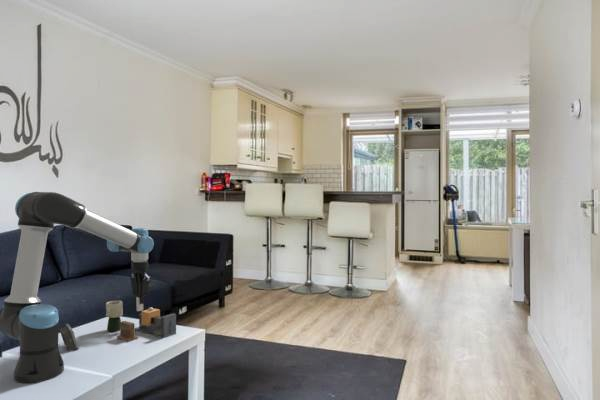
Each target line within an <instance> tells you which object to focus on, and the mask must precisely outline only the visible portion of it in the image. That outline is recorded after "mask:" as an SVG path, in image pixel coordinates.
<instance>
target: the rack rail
mask: <svg viewBox="0 0 600 400" xmlns="http://www.w3.org/2000/svg"><path fill="white" fill-rule="evenodd" d="M135 331H137V332H139V333H143V334H146V335H150V336H155V337H158V338H162V339H166V338H168V337H171V336H173V335H176V334H177V314H176V313H169V314H166V315H164V316H160V317H158V316H155V317H152V318H151V325H150V326H146V325H142V324H141V313H139V314H138V327H137V326H136V327H134V332H135Z"/></svg>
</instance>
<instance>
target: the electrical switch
mask: <svg viewBox="0 0 600 400" xmlns="http://www.w3.org/2000/svg"><path fill="white" fill-rule="evenodd" d="M58 331H59V333H60V335H61V337H62V340H63V344H64V346H65V348H66V347H67V348H66V349H67V351H68V352H70V351H73V350H79V349H80V348H79V347H80V346H79V345H78V341H77V338H76V335H75V332H74V330H73V328H72V326H71V325H70V324H69V323H66V324H65V326H64V327H62V328H58Z"/></svg>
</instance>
